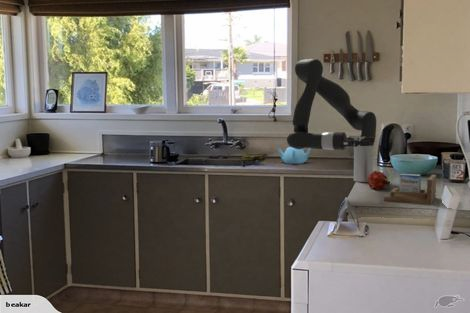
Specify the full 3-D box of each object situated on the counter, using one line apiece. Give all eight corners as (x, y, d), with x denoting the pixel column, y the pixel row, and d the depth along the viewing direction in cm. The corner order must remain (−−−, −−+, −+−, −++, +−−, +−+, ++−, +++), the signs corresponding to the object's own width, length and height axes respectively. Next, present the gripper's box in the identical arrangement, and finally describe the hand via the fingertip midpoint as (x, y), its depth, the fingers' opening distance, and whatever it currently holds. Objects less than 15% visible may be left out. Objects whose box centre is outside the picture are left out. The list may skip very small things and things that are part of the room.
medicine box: (399, 196, 245) (399, 174, 244) (400, 194, 249) (401, 173, 248) (419, 197, 242) (419, 175, 241) (420, 195, 246) (421, 174, 245)
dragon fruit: (371, 189, 278) (385, 197, 267) (359, 179, 274) (372, 188, 263) (382, 174, 277) (397, 182, 266) (370, 164, 274) (384, 172, 263)
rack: (390, 194, 256) (391, 172, 255) (435, 197, 248) (436, 174, 247) (383, 200, 243) (384, 177, 242) (430, 204, 236) (431, 179, 234)
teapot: (313, 163, 357) (313, 144, 356) (293, 165, 349) (293, 146, 347) (295, 160, 370) (295, 142, 368) (276, 162, 361) (276, 144, 360)
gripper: (329, 134, 251) (368, 134, 244) (338, 130, 264) (375, 130, 257) (329, 152, 252) (368, 153, 245) (338, 147, 265) (376, 148, 258)
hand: (372, 141), depth 251 cm, fingers open, 8 cm apart
